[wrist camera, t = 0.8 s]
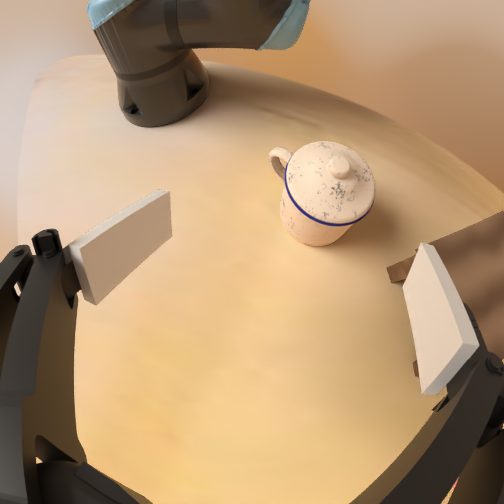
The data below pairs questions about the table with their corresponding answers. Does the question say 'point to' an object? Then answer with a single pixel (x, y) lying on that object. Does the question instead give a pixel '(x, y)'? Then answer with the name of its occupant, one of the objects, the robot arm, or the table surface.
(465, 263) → the walnut footstool
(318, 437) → the table surface
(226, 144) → the table surface
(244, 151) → the table surface
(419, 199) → the table surface
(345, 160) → the teacup with lid
